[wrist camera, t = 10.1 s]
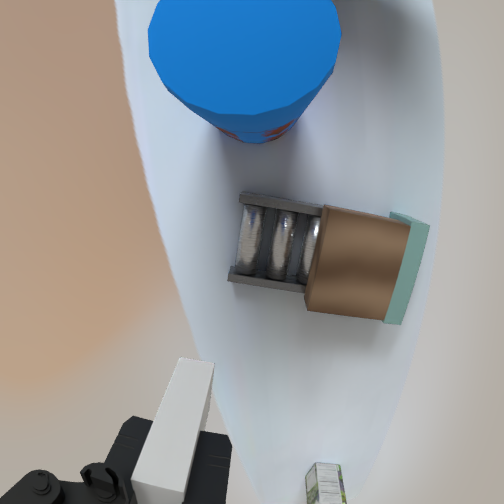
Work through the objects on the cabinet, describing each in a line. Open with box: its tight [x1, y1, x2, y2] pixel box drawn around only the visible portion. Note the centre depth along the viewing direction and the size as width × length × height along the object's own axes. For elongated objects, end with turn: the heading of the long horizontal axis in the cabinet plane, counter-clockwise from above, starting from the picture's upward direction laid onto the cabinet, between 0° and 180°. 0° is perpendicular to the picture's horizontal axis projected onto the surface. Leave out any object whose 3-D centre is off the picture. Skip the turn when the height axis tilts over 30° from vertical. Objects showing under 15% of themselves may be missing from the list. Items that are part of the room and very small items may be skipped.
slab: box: [304, 205, 411, 320], centre depth 38 cm, size 12×10×4 cm
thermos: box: [148, 0, 342, 143], centre depth 26 cm, size 11×11×25 cm
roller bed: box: [227, 192, 323, 293], centre depth 41 cm, size 11×20×3 cm, turn 81°
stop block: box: [382, 212, 430, 325], centre depth 39 cm, size 13×3×7 cm, turn 171°
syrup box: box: [305, 463, 347, 504], centre depth 48 cm, size 6×6×14 cm
